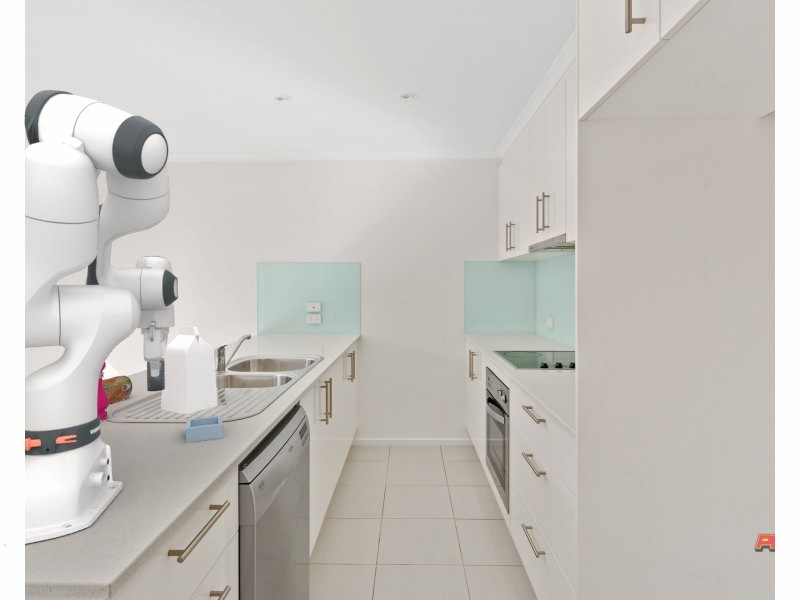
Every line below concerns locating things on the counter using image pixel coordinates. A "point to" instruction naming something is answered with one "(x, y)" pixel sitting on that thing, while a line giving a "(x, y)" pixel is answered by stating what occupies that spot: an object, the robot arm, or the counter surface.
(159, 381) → the cell
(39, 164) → the robot arm
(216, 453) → the counter surface
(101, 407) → the pepper mill
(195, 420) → the light blue square tray
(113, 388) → the tin
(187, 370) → the milk
